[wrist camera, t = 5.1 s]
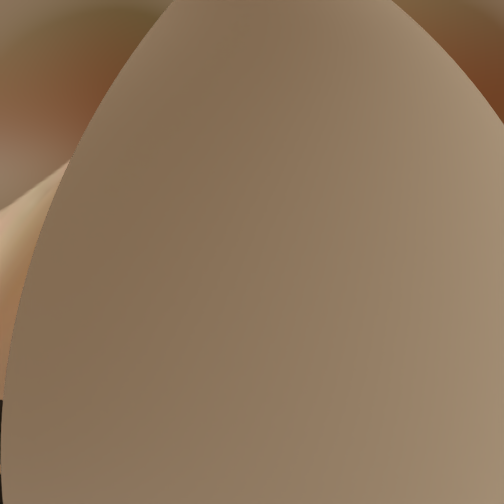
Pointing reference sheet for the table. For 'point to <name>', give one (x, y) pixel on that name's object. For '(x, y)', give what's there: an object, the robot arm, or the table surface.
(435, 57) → the birch panel
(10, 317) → the table surface
